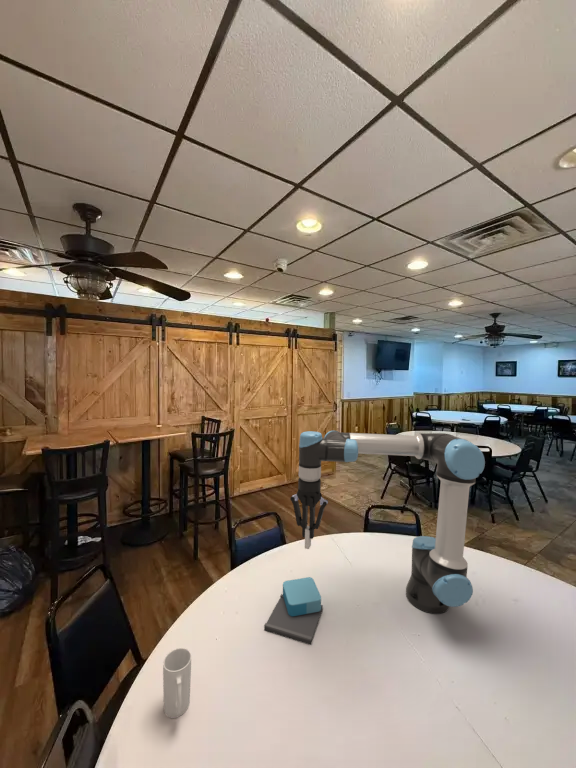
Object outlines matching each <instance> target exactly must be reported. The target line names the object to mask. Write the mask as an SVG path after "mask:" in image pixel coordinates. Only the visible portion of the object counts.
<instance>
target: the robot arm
mask: <svg viewBox="0 0 576 768" xmlns="http://www.w3.org/2000/svg"><path fill="white" fill-rule="evenodd" d="M359 454H361V455H363V454H364V455H367V454H368V455H383V456H403V457H407V456H409V457H415V458H416V459H417V460H425V461H430V462H432V463H435V464H436V465H437V466H436V477H437V478H438V479H439V480H440V487H439V497H438V510H437V521H436V530H435V531H436V532H435V537H433V536H427V535H420V536H419V535H418V536H416V537H414V538H413V540H412V545H411V575H410V577H409V579H408V581H407V584H406V587H405V595H406V599H407V600H408V602H409V603H410V604H411V605H412V606H414V607H415V608H417V609H419V611H423V612H426V613H429V614H436V615H437V614H442V613H446V612H447V611H448V610H449V609H450V607H452V608H456V607H457V608H458V607H461V606H464V605H465V603H468V602H469V601H470V600H471V598H472V596H473V593H474V587H473V584H472V583H471V580H470V579H469V578H468V567H469V566H468V561H467V560H466V558H465V557H464V550H465V539H466V529H467V518H468V517H467V516H468V508H469V507H468V506H469V495H470V487H472V486H473V485H475V484H476V478H479V477H480V474H482V473H483V471H484V469H485V466H486V465H485V464H486V461H485V455H484V453H483V451H482V450H481V449H480V447H478V445H476V444H474V443H473V442H471V441H469V440H467V439H465V438H461V437H458V436H454V435H452V434H450V433H441V432H439V433H437V432H435V433H434V432H433V433H432V432H431V433H428V432H427V433H425V432H424V433H423V432H422V433H421V432H417V433H415V434H414V435H408V434H407V435H406V434H405V435H404V434H383V433H365V432H364V433H363V432H362V433H361V432H359V433H358V432H340V431H338V430H330V431H328V432H327V433H326V434H325V435H324V437H323V435H322V433H321V432H320V431H314V430H313V431H311V430H310V431H303V432H301V433H300V435H299V443H298V482H297V483H298V484H297V485H298V488H297V492H296V494H292V496H291V497H289V500H290V501H291V503H292V505H293V506H292V507H293V511H294V515H295V516H294V517H295V521H296V525H297V526H298V527H301V528H302V530H301V531H302V532H301V536H302V538H304V549H305V550H310V549H311V546H312V540H313V539H314V537H315V530H318V529H319V527H320V525H321V522H322V518H323V515H324V512H325V508H326V507H327V505H328V503H329V500H328V499H325V498H324V497H323V496H322V492H321V485H322V483H321V482H322V480H321V477H322V462H338V463H340V462H341V463H353V462H356V461H357V460H358V457H359ZM299 501H300V502H301V507H300V503H299ZM319 502H320V503H319ZM318 503H319V505H320V507H319V509H318V514H317V517H316V505H317V504H318ZM308 509H309V511H308ZM301 511H302V512H301ZM308 513H309V514H308ZM308 517H309V522H308ZM308 524H309V525H308Z"/></svg>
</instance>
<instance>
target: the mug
mask: <svg viewBox="0 0 576 768" xmlns="http://www.w3.org/2000/svg"><path fill="white" fill-rule="evenodd" d="M162 663H163V664H162V676H163V677H162V681H163V682H162V685H163V686H162V687H163V697H162V698H163V699H162V700H163V701H162V702H163V712H164V714H165V716H166V717H168V718H170V719H171V718H172V719H174V718H175V719H176V718H179V717H180V716H183V714H184V713H186V711H187V710H188V709H189V706H190V701H191V700H190V699H191V698H190V697H191V677H192V653H191V651H190V650H189V649H188V648H186V647H178V648H174V649H172V650H171V651H169V652H168V653H167V654H166V655H165V656H164V659H163V662H162Z"/></svg>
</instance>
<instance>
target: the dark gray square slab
mask: <svg viewBox="0 0 576 768" xmlns="http://www.w3.org/2000/svg"><path fill="white" fill-rule="evenodd" d="M323 610H324V605H323V604H321V610H320V611H319V612H314V613H309V614H304V615H298V616H290V615H289V614H288V611H287V607H286V604H285V600H284V597H283V593H281V594H280V598H279V599H278V601H277V603H276V604H275V607H274V608H273V610H272V612H271V614H270V616H269V618H268V619H267V621H266V622H265V623H264V625H263V628H264V630H263V631H265V632H269V633H271V634H275V635H278V636H280V637H284V638H287V639H290V640H293V641H297V642H300V643H303V644H306V645H310V646H311V645H312V643H313V640H314V638H315V634H316V632H317V628H318V626H319V624H320V623H319V622H320V619H321V616H322V614H323Z"/></svg>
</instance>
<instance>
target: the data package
mask: <svg viewBox="0 0 576 768" xmlns="http://www.w3.org/2000/svg"><path fill="white" fill-rule="evenodd" d="M282 594H283V597H284V600H285V604H286V607H287V611H288V614H289V615H290V616H298V615H304V614H309V613H314V612H319V611H320V610H321V605H322V596H321V594H320V590H319V589H318V587H317V584H316V582H315V580H314V578H313V577H311V576H310V577H309V576H308V577H302V578H296V579H295V578H294V579H290V580H285V581H283V583H282Z"/></svg>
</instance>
